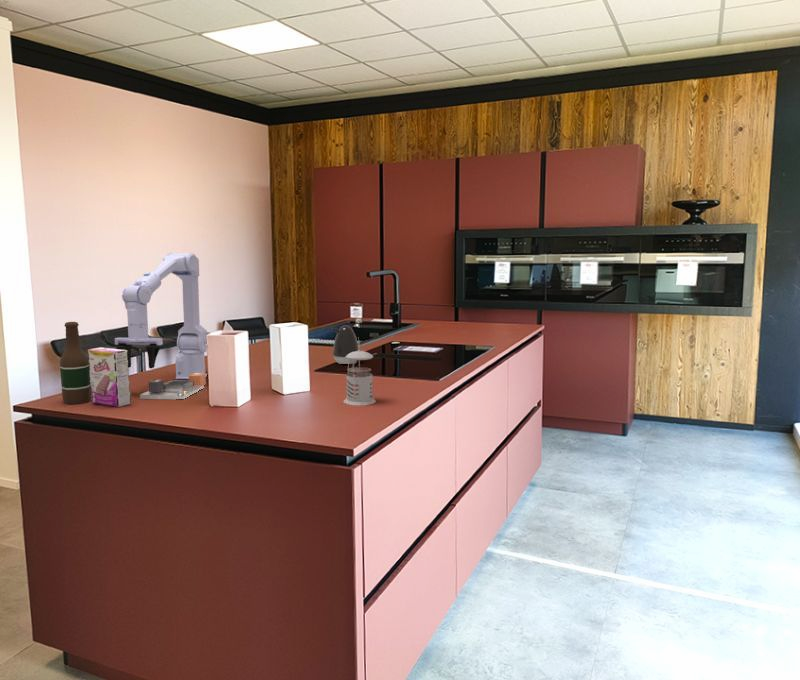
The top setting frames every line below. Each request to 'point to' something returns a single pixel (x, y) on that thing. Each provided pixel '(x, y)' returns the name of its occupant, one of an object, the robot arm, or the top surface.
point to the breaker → (156, 386)
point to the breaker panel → (174, 390)
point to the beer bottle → (74, 369)
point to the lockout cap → (198, 378)
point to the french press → (359, 379)
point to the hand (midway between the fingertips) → (139, 367)
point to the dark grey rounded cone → (344, 344)
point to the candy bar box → (109, 376)
